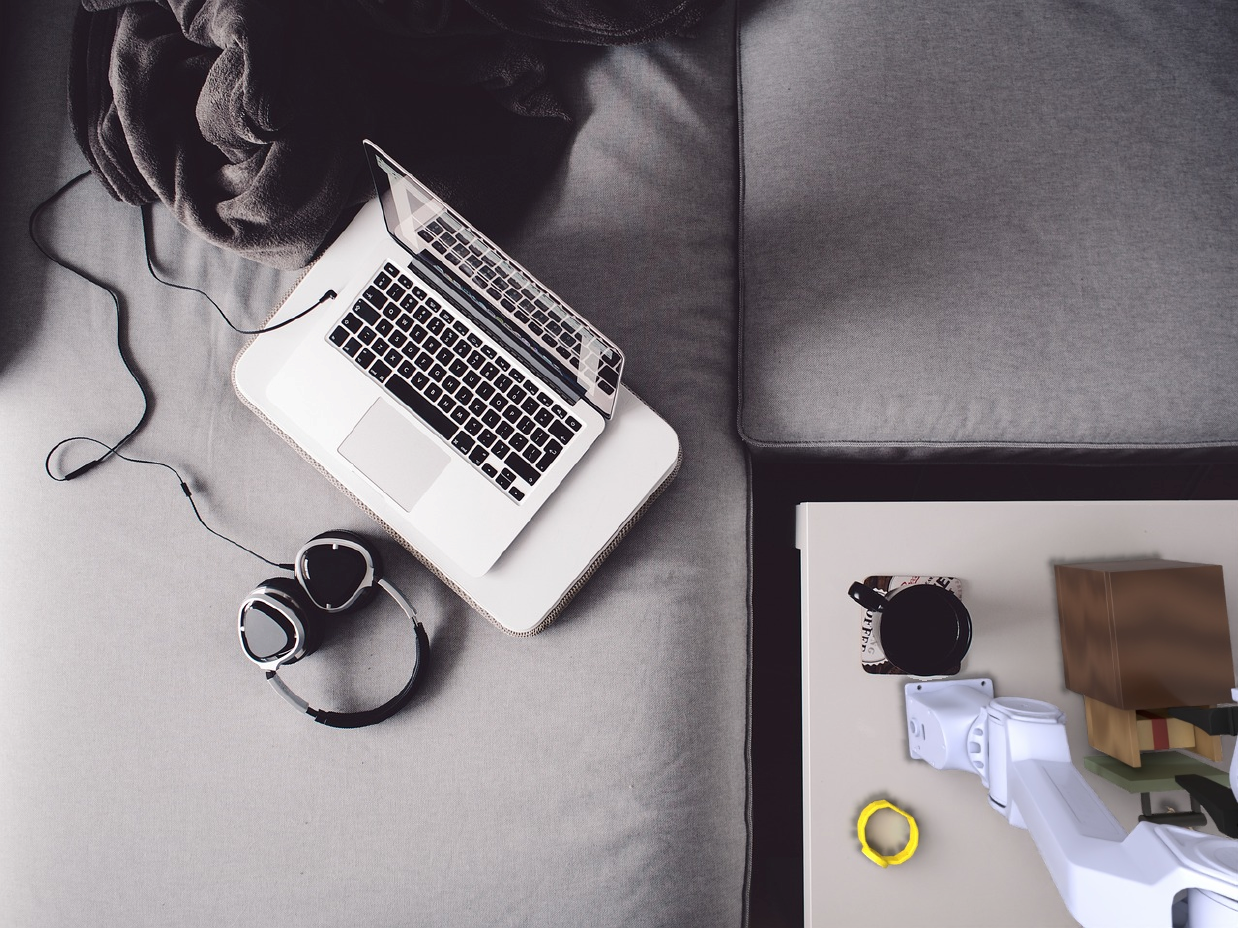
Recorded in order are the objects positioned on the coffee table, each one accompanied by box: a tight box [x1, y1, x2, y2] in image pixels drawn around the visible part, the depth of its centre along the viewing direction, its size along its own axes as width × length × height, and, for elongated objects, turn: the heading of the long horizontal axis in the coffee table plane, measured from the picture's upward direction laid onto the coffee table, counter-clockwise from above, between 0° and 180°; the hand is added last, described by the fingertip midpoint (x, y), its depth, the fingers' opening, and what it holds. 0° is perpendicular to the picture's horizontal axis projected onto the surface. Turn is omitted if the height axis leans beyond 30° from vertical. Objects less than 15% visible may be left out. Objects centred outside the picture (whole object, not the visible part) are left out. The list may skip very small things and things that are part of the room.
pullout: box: [1082, 695, 1231, 828], centre depth 71 cm, size 17×10×7 cm, turn 3°
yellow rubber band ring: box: [856, 799, 920, 869], centre depth 73 cm, size 6×3×6 cm
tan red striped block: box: [1135, 708, 1195, 751], centre depth 72 cm, size 7×3×4 cm, turn 93°
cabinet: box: [1053, 558, 1238, 711], centre depth 72 cm, size 13×11×8 cm
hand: (1181, 743), depth 67 cm, fingers open, 6 cm apart
